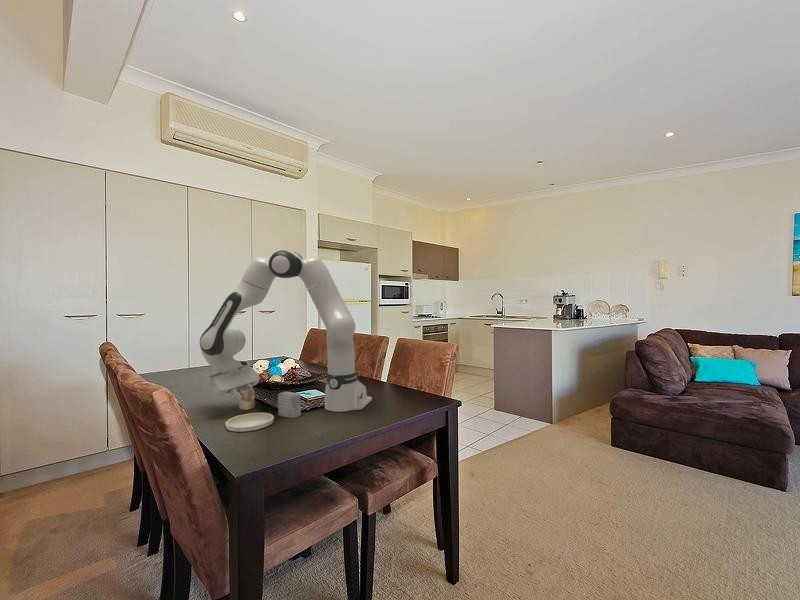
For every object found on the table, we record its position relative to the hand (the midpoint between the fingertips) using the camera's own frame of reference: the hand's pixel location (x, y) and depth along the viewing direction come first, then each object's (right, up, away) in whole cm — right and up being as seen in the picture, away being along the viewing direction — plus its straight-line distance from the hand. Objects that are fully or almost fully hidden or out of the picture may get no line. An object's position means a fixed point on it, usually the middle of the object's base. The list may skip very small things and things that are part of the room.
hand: (247, 396), depth 152 cm
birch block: (0, -4, 0) cm, 4 cm away
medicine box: (+18, -7, -4) cm, 19 cm away
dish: (+6, -7, -13) cm, 16 cm away
